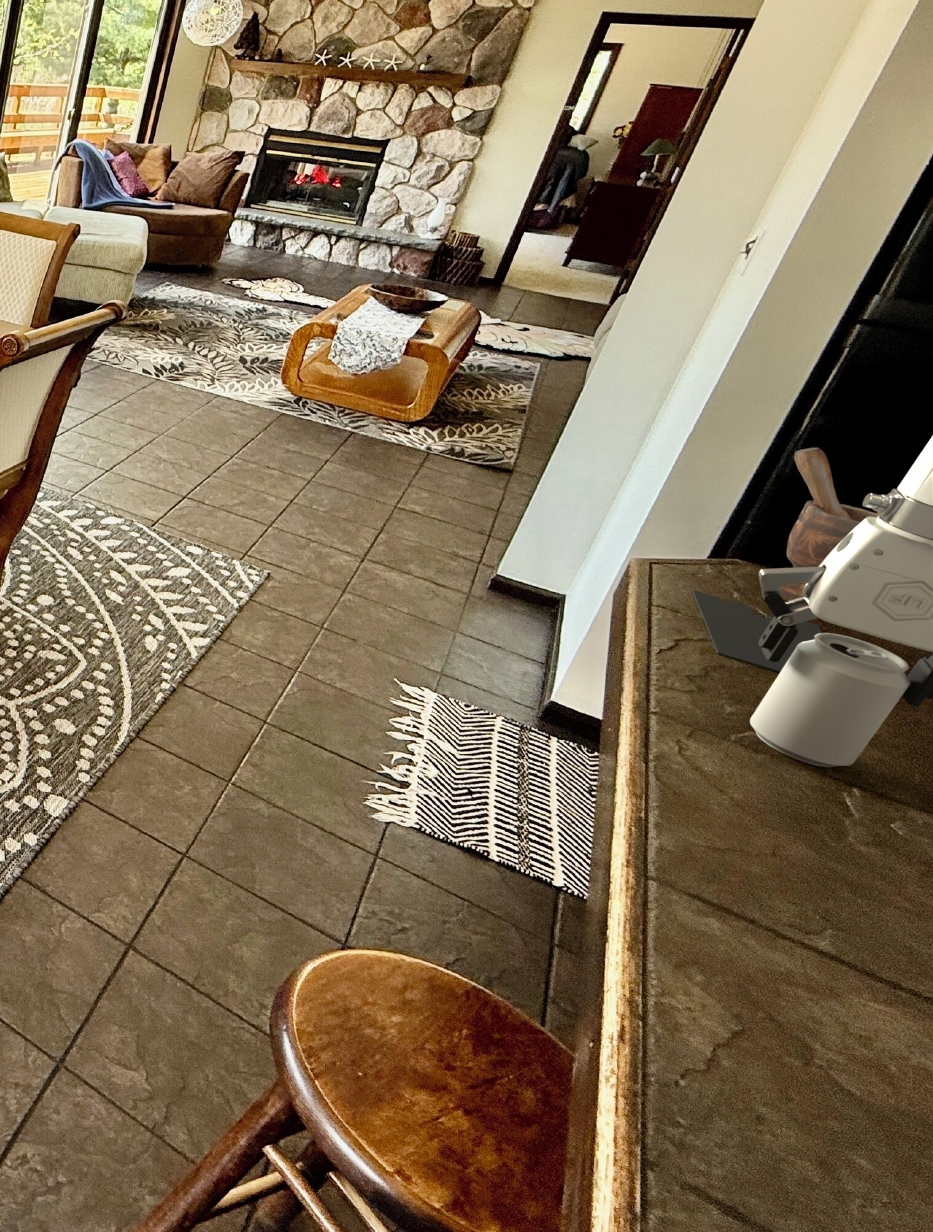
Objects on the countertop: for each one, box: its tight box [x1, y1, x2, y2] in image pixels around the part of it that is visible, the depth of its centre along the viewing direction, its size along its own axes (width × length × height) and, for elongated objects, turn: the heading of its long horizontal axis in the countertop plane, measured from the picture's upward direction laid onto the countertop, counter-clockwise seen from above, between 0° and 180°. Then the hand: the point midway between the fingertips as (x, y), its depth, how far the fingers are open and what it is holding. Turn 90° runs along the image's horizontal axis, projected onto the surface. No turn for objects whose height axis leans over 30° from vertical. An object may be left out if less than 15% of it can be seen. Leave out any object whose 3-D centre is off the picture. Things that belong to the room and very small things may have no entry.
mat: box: [691, 589, 823, 673], centre depth 113 cm, size 12×20×1 cm, turn 142°
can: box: [749, 632, 910, 768], centre depth 91 cm, size 8×8×12 cm
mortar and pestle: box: [780, 447, 879, 602], centre depth 121 cm, size 12×9×20 cm
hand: (835, 676), depth 90 cm, fingers open, 9 cm apart
